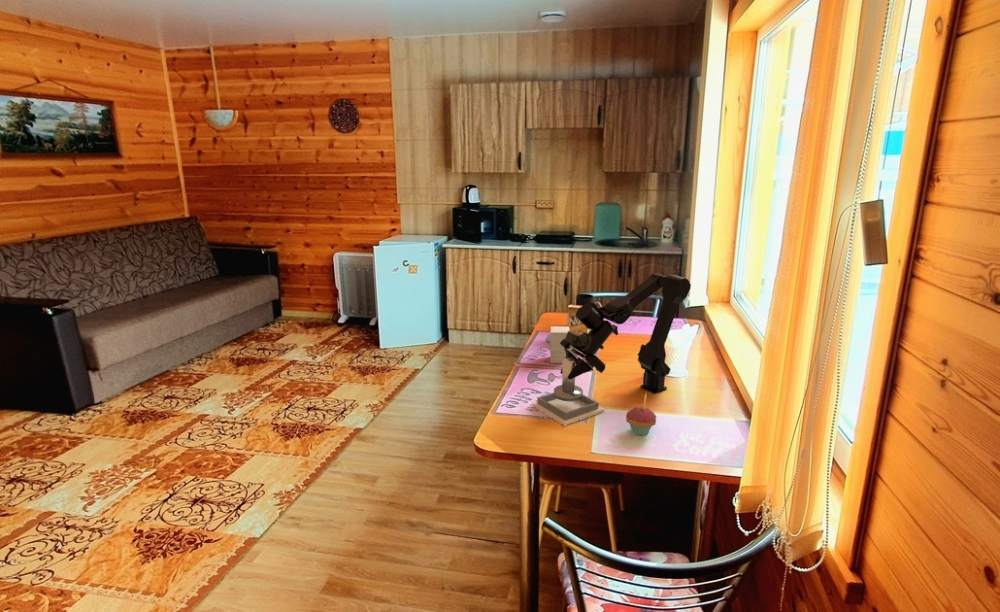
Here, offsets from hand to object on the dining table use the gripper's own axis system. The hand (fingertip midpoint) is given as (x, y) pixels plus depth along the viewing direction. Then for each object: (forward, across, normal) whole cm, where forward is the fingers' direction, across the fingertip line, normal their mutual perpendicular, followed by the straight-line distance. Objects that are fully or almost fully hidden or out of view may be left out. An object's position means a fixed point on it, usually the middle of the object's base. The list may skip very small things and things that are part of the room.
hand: (564, 376), depth 170 cm
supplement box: (-5, -37, +22) cm, 43 cm away
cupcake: (-1, +21, +18) cm, 28 cm away
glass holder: (-26, -63, +43) cm, 81 cm away
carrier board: (+7, 0, +9) cm, 11 cm away
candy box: (-18, -52, +34) cm, 65 cm away
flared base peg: (+4, 0, +6) cm, 7 cm away
